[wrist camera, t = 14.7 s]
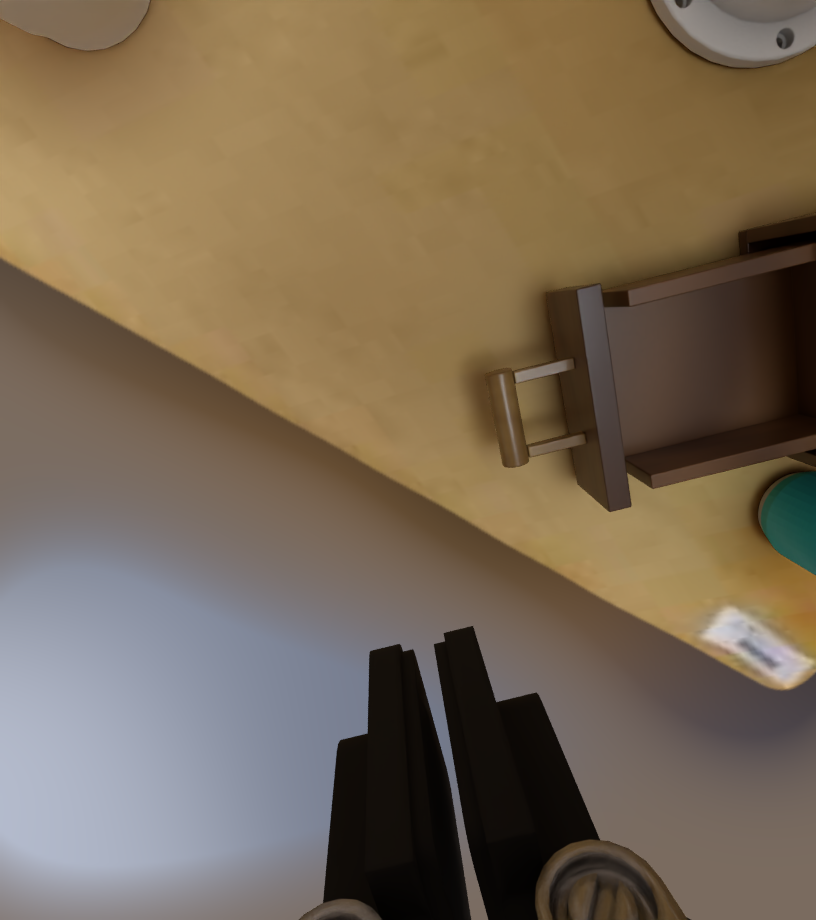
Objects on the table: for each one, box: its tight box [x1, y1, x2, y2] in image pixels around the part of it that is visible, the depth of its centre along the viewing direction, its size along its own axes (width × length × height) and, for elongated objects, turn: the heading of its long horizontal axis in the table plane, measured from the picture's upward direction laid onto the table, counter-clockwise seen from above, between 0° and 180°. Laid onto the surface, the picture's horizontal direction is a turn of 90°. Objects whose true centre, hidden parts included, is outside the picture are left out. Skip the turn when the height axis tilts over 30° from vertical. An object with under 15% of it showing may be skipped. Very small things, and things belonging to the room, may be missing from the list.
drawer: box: [485, 239, 816, 512], centre depth 29 cm, size 18×11×5 cm, turn 104°
